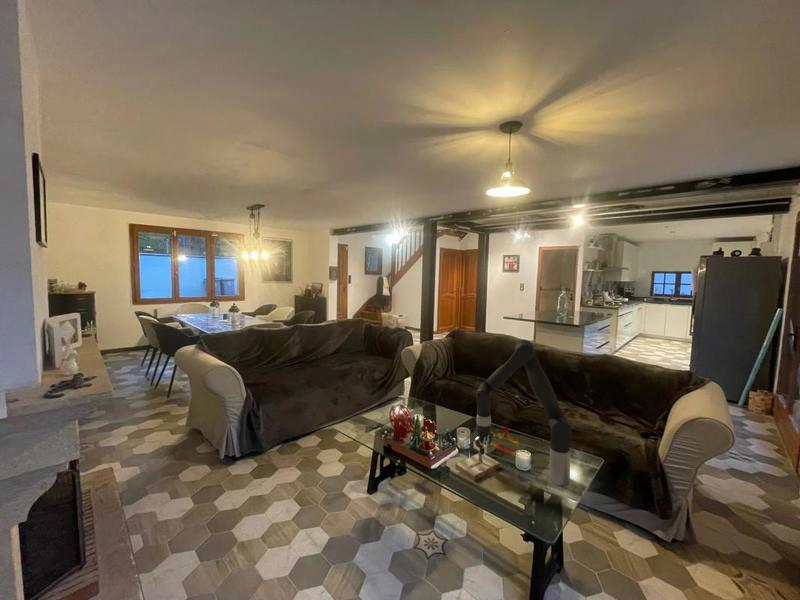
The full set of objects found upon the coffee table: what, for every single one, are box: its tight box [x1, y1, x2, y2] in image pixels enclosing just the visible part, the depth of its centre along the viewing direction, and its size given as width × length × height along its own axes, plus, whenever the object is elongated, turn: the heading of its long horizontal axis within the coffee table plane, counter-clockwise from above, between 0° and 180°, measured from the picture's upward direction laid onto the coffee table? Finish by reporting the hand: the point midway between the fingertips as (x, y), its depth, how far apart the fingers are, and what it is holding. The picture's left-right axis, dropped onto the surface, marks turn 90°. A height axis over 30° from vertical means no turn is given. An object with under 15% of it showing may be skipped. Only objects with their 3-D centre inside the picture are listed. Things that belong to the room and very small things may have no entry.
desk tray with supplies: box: [454, 452, 501, 482], centre depth 190 cm, size 20×14×3 cm
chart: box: [488, 425, 523, 458], centre depth 208 cm, size 30×3×15 cm, turn 40°
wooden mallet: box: [468, 441, 488, 467], centre depth 189 cm, size 10×8×10 cm
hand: (483, 452), depth 189 cm, fingers closed on wooden mallet, 2 cm apart
